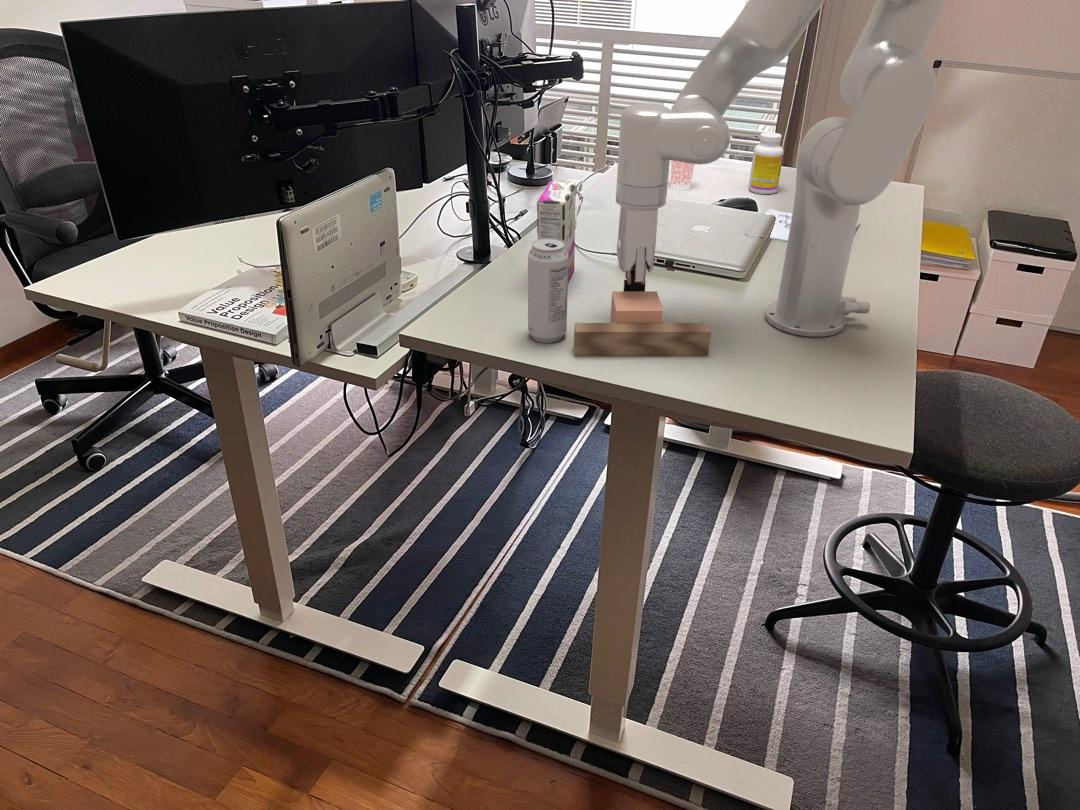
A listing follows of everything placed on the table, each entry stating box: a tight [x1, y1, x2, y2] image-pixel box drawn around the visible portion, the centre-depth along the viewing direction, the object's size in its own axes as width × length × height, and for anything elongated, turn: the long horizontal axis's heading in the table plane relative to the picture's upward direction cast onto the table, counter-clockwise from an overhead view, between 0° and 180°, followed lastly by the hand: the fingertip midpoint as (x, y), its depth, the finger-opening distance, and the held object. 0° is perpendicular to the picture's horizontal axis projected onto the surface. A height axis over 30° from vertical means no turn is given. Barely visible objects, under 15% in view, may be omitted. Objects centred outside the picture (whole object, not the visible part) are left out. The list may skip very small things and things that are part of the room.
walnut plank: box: [573, 322, 712, 357], centre depth 124 cm, size 20×3×4 cm, turn 91°
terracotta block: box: [609, 290, 664, 323], centre depth 128 cm, size 7×7×6 cm
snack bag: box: [764, 208, 861, 243], centre depth 171 cm, size 19×20×2 cm
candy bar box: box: [536, 180, 577, 284], centre depth 143 cm, size 11×5×16 cm, turn 168°
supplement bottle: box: [748, 131, 785, 195], centre depth 190 cm, size 7×7×13 cm
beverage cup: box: [670, 160, 695, 192], centre depth 191 cm, size 6×6×14 cm
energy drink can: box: [527, 238, 569, 344], centre depth 125 cm, size 6×6×15 cm
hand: (633, 304), depth 133 cm, fingers closed
